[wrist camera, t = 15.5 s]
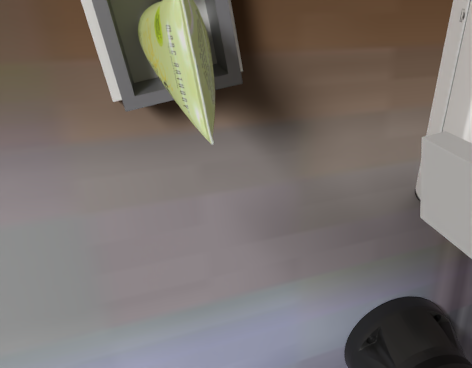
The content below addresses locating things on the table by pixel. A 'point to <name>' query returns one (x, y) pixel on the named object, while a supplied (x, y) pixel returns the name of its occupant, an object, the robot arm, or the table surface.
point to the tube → (181, 58)
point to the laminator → (454, 80)
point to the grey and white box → (134, 59)
